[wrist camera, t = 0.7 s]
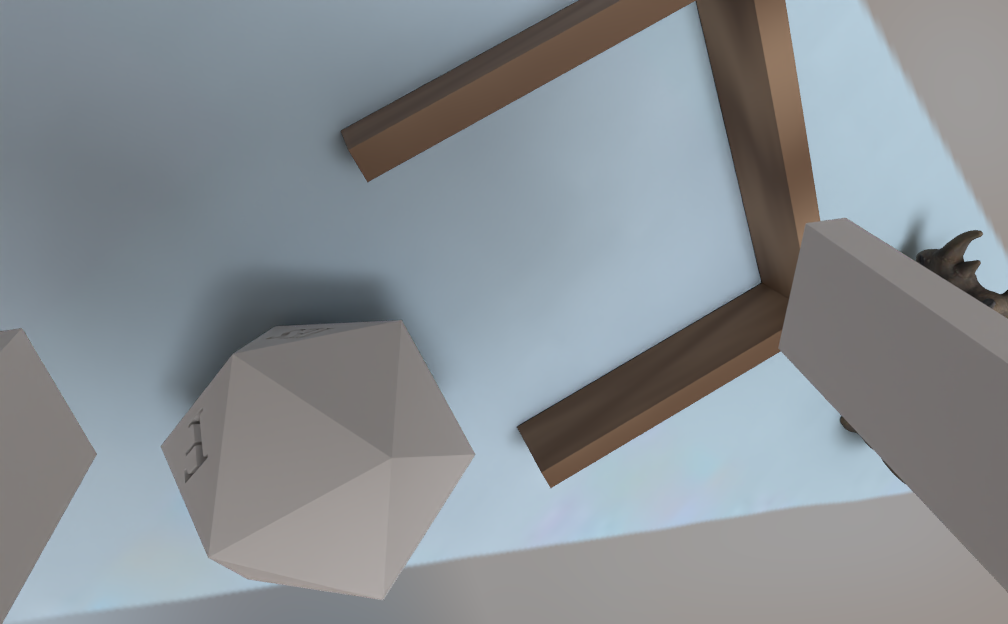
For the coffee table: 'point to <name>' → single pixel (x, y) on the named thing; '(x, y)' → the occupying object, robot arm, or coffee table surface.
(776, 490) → the coffee table surface
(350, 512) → the die
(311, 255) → the coffee table surface
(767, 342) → the frame
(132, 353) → the coffee table surface
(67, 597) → the coffee table surface
